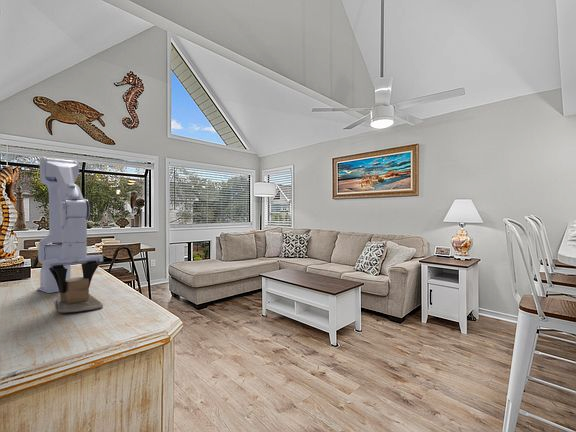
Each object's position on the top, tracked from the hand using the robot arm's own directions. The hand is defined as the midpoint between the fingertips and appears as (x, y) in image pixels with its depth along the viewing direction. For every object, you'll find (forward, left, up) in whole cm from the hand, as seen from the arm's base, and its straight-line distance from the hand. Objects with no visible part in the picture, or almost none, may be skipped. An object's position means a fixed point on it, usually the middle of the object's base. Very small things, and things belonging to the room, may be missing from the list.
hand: (74, 289), depth 86 cm
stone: (0, +1, -5) cm, 5 cm away
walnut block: (0, 0, -3) cm, 3 cm away
